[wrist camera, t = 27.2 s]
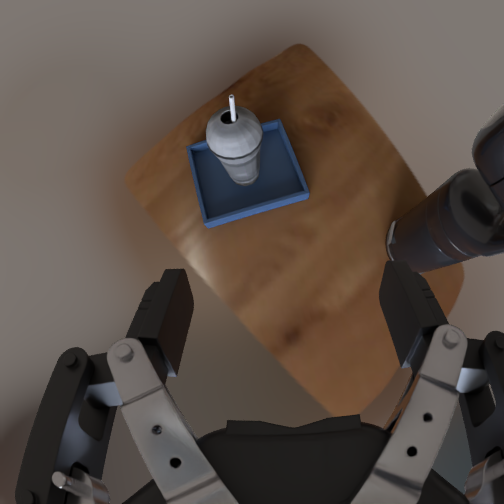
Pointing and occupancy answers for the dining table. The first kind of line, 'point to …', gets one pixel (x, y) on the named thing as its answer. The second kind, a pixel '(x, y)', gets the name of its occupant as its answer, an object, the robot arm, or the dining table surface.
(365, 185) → the dining table surface
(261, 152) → the tray
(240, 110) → the beverage cup
